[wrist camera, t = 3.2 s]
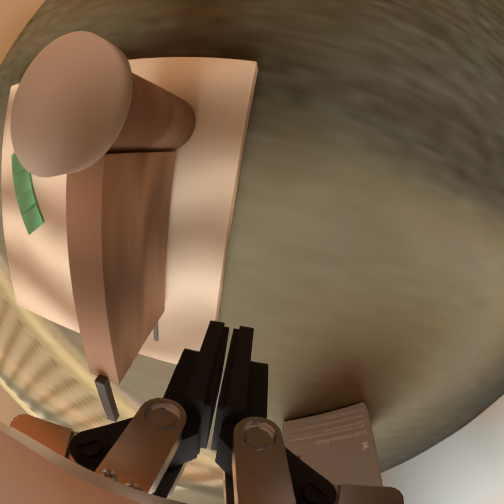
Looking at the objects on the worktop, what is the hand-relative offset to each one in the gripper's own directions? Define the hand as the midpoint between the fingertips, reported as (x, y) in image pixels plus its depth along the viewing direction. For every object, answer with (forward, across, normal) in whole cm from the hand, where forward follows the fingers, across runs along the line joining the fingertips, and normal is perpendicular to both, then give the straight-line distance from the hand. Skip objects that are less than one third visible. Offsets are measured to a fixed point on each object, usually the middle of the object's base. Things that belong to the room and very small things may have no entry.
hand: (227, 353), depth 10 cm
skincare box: (+8, -11, +15) cm, 20 cm away
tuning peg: (+6, +5, -3) cm, 8 cm away
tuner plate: (+8, +11, -3) cm, 14 cm away
